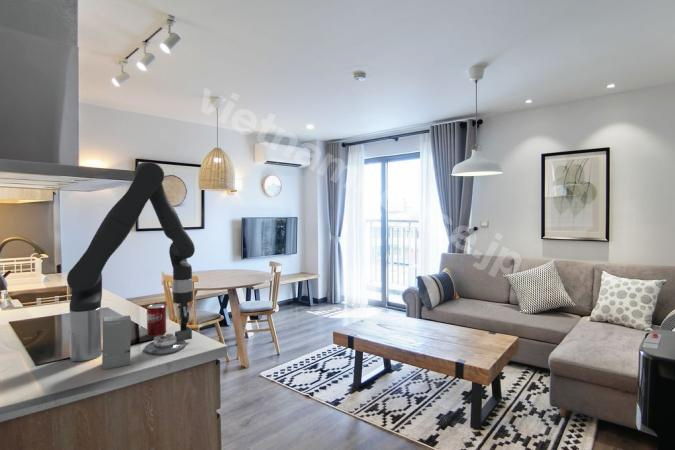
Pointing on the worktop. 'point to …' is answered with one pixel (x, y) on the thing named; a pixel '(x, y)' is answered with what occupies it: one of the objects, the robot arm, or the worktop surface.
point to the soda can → (156, 320)
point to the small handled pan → (172, 338)
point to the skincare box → (116, 341)
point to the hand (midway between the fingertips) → (183, 332)
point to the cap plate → (164, 349)
